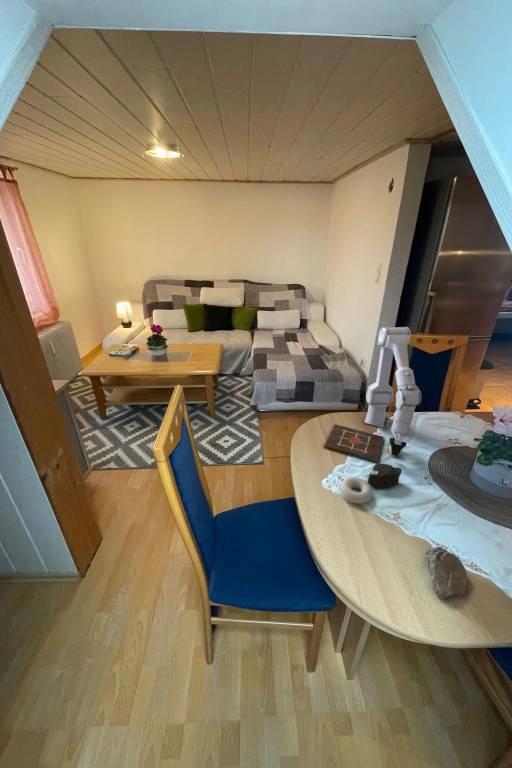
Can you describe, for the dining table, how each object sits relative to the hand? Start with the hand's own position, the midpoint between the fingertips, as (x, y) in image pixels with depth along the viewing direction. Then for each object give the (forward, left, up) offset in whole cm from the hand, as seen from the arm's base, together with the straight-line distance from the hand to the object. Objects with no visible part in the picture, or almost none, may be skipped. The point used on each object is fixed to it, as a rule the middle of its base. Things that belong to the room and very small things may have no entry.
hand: (395, 449), depth 114 cm
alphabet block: (0, 0, -3) cm, 3 cm away
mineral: (+17, -3, -3) cm, 17 cm away
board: (0, -15, -3) cm, 15 cm away
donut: (+26, -9, -3) cm, 28 cm away
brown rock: (+43, +15, -3) cm, 46 cm away
